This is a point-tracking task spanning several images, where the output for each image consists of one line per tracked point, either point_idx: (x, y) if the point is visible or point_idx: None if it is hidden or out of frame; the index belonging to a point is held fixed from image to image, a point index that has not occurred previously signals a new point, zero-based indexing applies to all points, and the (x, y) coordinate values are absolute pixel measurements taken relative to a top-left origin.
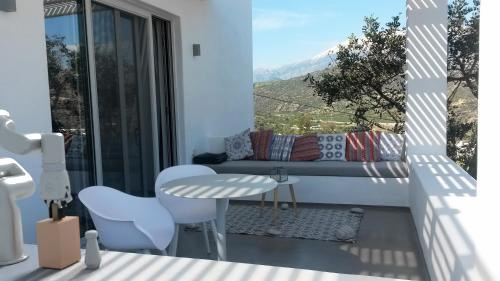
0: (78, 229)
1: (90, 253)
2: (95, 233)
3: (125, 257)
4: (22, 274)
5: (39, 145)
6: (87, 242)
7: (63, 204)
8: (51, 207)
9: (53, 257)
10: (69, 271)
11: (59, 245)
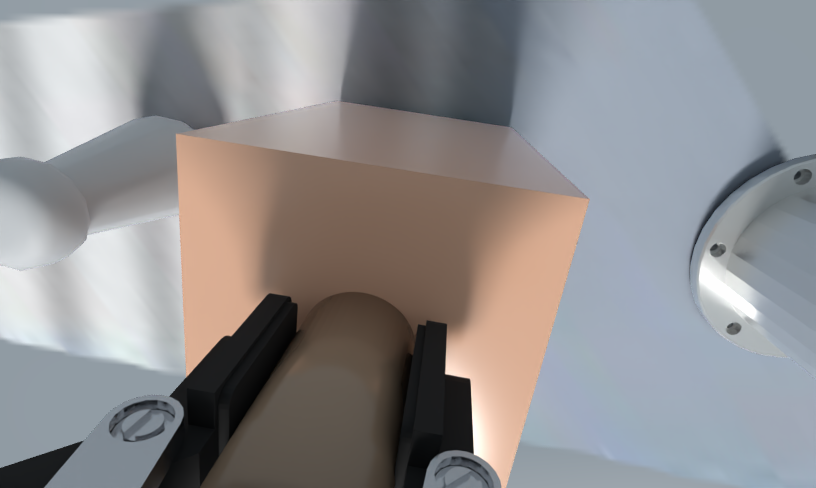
0: None
1: (106, 136)
2: None
3: (120, 306)
4: (557, 8)
5: None
6: (76, 163)
7: (50, 465)
8: (407, 466)
9: (384, 115)
10: (280, 85)
11: (294, 112)
